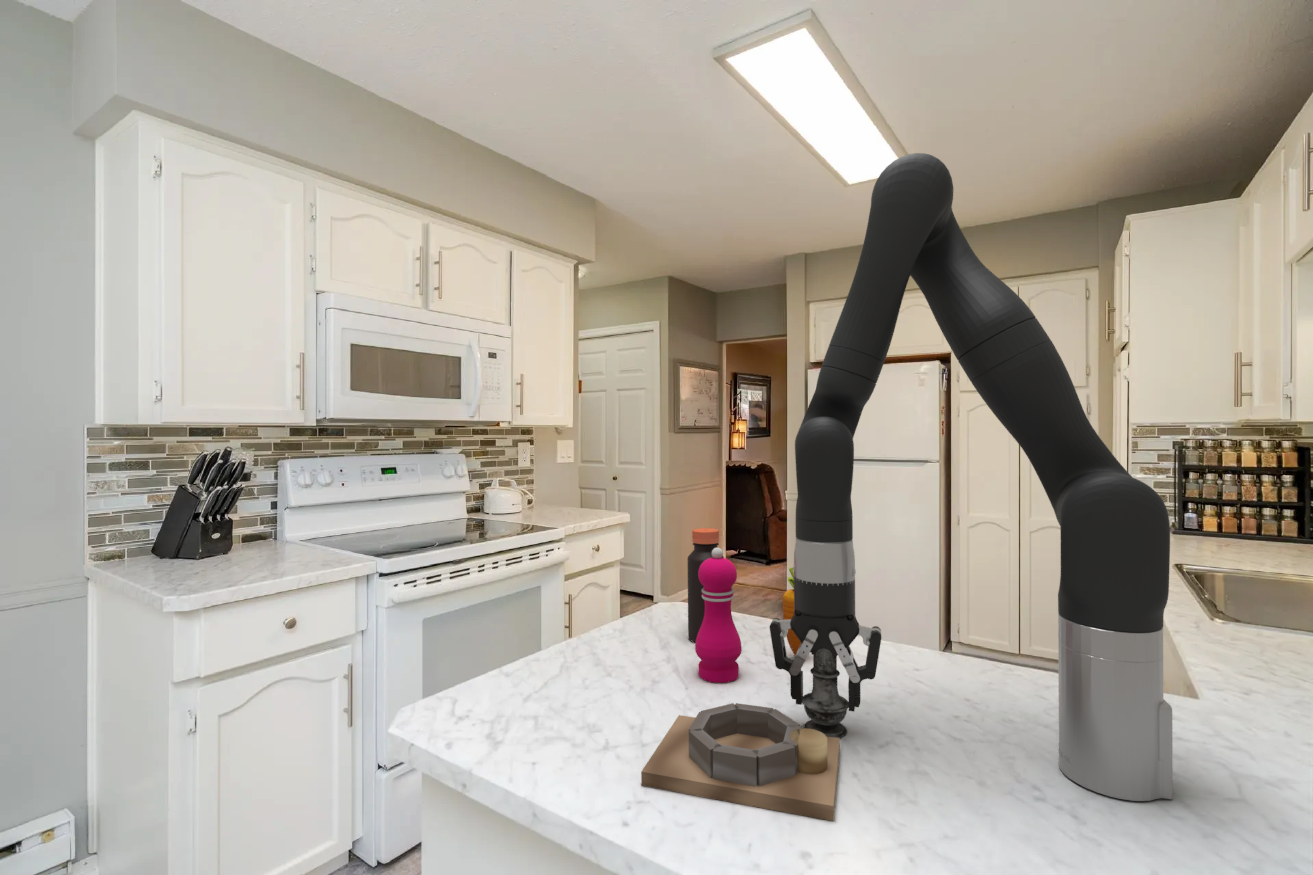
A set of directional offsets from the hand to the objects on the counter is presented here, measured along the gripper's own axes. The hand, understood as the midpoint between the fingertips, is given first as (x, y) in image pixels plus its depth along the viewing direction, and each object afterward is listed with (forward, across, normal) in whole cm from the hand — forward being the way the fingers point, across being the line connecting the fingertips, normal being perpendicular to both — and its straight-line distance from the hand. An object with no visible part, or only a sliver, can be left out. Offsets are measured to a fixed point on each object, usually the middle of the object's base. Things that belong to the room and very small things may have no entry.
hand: (825, 704), depth 79 cm
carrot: (+3, +6, -24) cm, 25 cm away
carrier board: (+3, +8, +12) cm, 15 cm away
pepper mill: (+3, +17, -13) cm, 22 cm away
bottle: (+3, +23, -29) cm, 37 cm away
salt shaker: (+3, 0, 0) cm, 3 cm away
